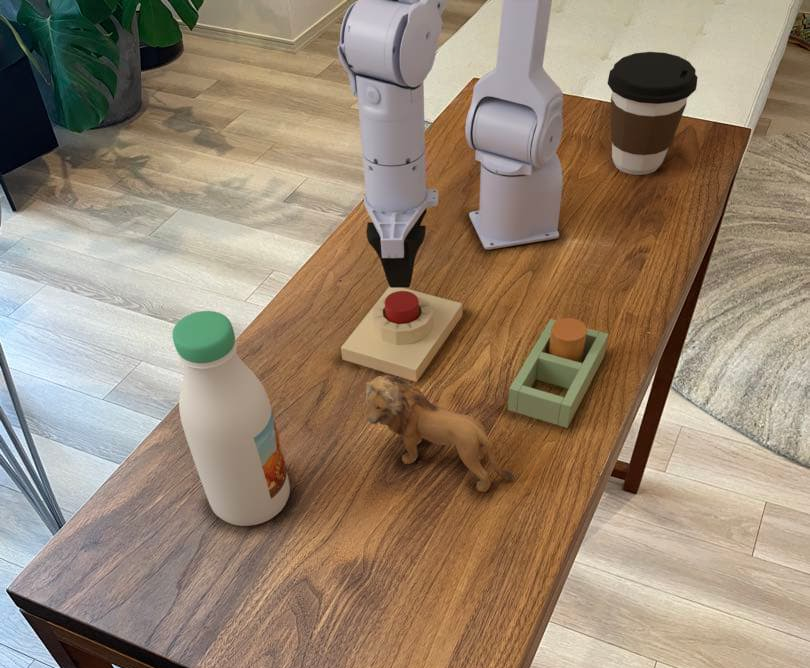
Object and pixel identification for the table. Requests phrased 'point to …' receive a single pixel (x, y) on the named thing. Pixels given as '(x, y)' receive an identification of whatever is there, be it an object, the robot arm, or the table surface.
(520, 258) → the table surface
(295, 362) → the table surface
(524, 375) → the pod holder
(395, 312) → the button
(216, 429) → the milk bottle
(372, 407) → the lion figurine
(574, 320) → the cylinder
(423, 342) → the box
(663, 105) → the coffee cup
